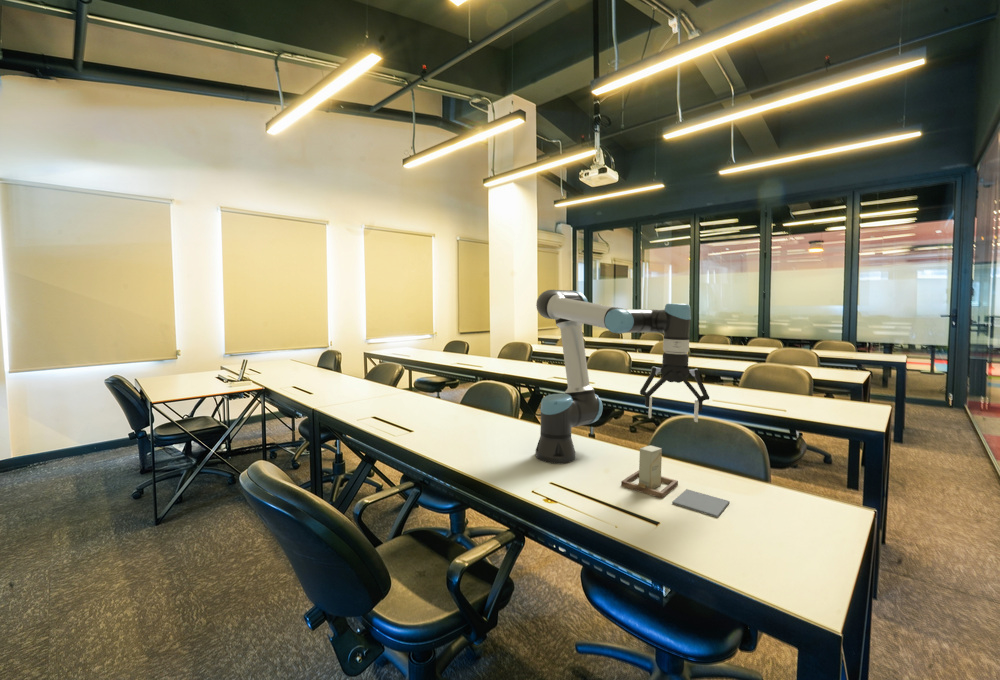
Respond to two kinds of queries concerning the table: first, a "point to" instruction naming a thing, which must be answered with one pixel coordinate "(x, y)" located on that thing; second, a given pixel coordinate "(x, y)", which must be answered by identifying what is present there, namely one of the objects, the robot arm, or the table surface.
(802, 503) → the table surface
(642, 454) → the skincare box
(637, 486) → the collar
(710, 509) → the mat
